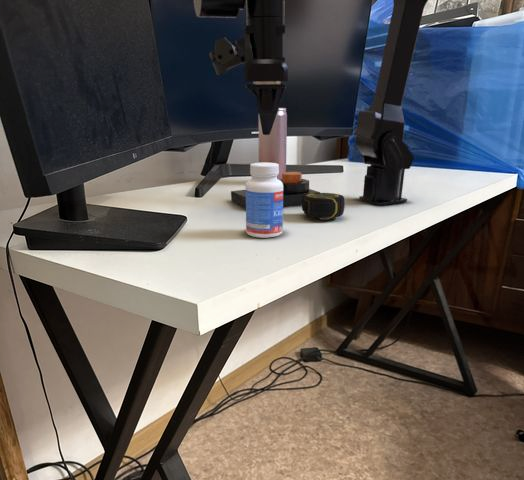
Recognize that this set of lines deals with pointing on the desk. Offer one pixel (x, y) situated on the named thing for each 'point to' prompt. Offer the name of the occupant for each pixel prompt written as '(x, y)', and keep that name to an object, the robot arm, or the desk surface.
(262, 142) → the beverage can
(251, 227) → the pill bottle
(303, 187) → the scale
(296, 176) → the button
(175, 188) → the desk surface
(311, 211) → the tape measure
